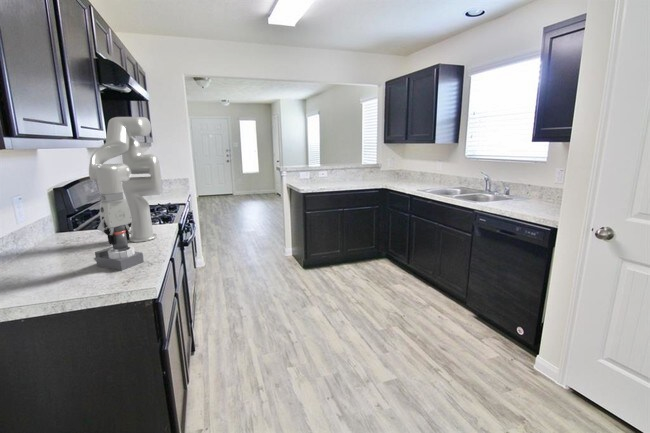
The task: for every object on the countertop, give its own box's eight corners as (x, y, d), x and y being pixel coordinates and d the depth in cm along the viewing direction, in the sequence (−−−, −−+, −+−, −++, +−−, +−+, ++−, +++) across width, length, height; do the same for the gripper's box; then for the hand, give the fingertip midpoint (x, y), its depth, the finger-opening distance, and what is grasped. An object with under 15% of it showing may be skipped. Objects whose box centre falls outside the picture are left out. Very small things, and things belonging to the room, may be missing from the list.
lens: (110, 248, 135) (105, 224, 133) (121, 245, 140) (118, 221, 137) (119, 250, 133) (115, 225, 131) (131, 246, 138) (127, 222, 135)
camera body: (97, 266, 137) (94, 251, 135) (119, 258, 146) (117, 243, 144) (122, 270, 132) (119, 254, 130) (143, 261, 141) (141, 246, 139)
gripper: (97, 201, 123) (106, 249, 127) (138, 194, 138) (144, 237, 142) (83, 200, 125) (92, 247, 129) (125, 193, 141) (131, 235, 145)
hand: (119, 241), depth 136 cm, fingers closed on lens, 5 cm apart
